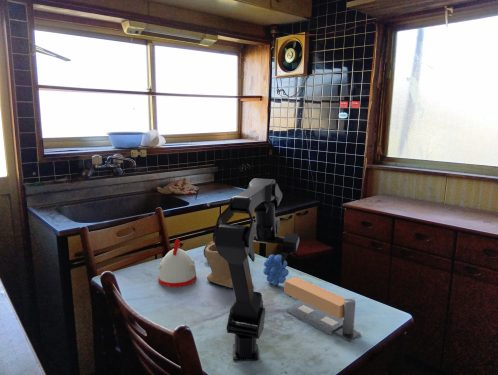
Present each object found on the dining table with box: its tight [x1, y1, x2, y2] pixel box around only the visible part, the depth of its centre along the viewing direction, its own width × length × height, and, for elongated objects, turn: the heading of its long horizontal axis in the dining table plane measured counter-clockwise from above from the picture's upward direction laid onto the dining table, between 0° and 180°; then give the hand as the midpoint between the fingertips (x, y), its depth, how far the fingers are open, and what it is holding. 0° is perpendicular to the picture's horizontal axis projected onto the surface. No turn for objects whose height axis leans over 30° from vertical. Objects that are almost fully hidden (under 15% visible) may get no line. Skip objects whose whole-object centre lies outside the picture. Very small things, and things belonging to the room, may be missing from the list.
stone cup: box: [204, 243, 233, 289], centre depth 137 cm, size 15×12×15 cm
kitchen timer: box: [157, 238, 197, 288], centre depth 141 cm, size 14×14×15 cm
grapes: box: [262, 254, 290, 286], centre depth 137 cm, size 12×7×12 cm, turn 44°
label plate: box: [285, 300, 343, 336], centre depth 116 cm, size 17×10×1 cm, turn 41°
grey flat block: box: [334, 328, 361, 343], centre depth 107 cm, size 5×5×1 cm
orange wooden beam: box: [283, 276, 356, 334], centre depth 114 cm, size 24×5×9 cm, turn 41°
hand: (268, 262), depth 116 cm, fingers open, 9 cm apart
